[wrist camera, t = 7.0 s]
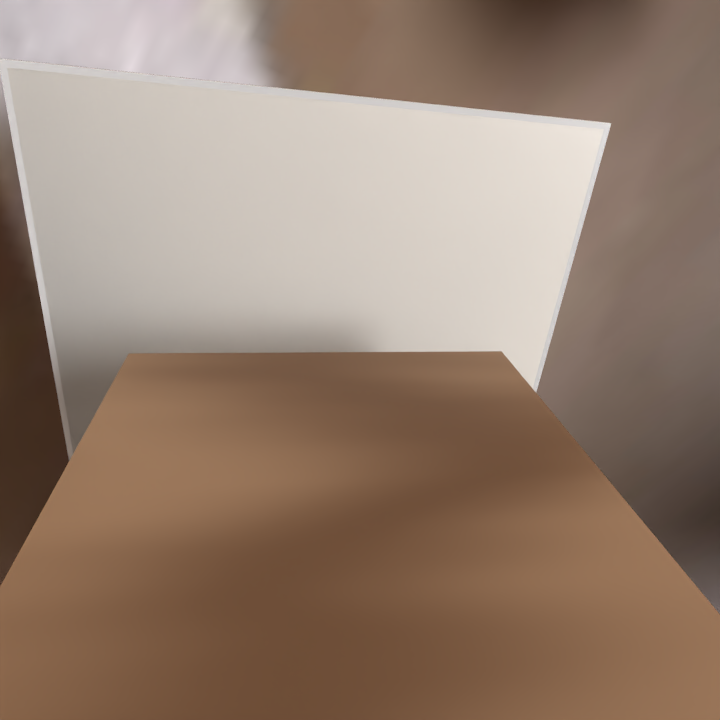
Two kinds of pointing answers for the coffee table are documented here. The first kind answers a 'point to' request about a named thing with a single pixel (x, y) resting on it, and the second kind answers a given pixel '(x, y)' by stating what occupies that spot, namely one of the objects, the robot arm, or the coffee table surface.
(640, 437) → the coffee table surface
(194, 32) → the coffee table surface
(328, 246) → the white rectangular box
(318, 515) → the walnut block
